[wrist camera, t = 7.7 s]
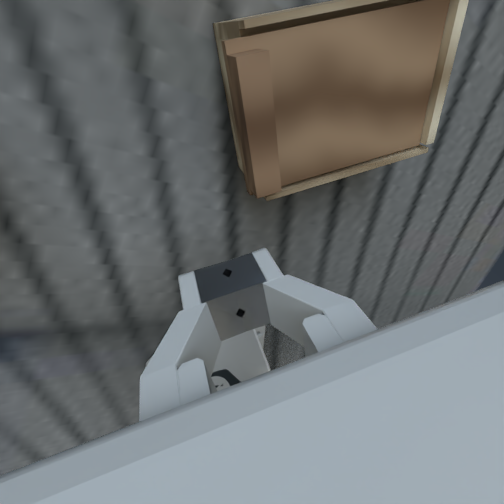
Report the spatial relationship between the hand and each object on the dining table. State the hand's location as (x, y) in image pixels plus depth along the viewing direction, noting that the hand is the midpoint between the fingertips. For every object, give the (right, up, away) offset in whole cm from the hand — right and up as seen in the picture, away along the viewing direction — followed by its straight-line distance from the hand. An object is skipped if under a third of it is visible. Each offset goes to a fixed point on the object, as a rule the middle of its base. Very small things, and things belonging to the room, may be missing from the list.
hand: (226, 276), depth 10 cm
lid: (+7, +12, +13) cm, 19 cm away
